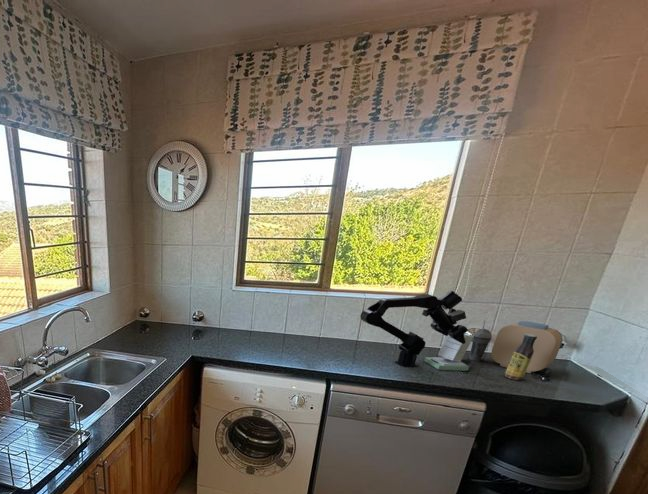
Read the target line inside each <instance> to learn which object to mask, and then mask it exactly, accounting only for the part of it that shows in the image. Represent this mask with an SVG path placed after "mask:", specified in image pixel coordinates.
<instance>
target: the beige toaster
mask: <svg viewBox="0 0 648 494" xmlns="http://www.w3.org/2000/svg"><path fill="white" fill-rule="evenodd" d="M525 334H532V335H536V336H537V338H536V340H535V342H534V344H533V350H534V353H533V355H532V358H531V361H530V363H529V366H528V368H527V370H526V372H525V373H527V374H532V373H534V372H538V371H539V372H540V371H542V370H544V369H547V368H548V367H549V366H551V365H552V364H553V363H554V362H555V360H556V359H557V356H558V353H559V351H560V348H561V346H562V343H563V334H562V333H561V331H559V330H557V329H555V328H552V327H550V325H548V324H544V323H539V322H532V321H527V320H526V321H524V320H521V321H518V322H516V323H512V324H509V325H505V326H503V327H502V328H501V329H500V330H499V331H498V332H497V334H496V336H495V339H494V342H493V345H492V348H491V354H490V355H491V358H492V360H493V361H494V362H495V363H497V364H499V367H503V368H506V369H507V367H508V365H509V362H510V360H511V358H512V355H513V353H514V351H515V350H516V349H517V348H518V347H519V346H520V344H521V343H522V341H523V339H524V335H525Z"/></svg>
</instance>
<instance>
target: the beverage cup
mask: <svg viewBox="0 0 648 494" xmlns="http://www.w3.org/2000/svg"><path fill="white" fill-rule="evenodd" d="M485 325H486V319H484V320H483V324H482V328H479V329H477V330H476V331H475V332H474V333H473V335H472V337H474V338H473V339H472V341H471V346H470V347H471V348H470V353H469V360H471V361H476V362H480V361H481V360H482V358H483V356H484V354H485V353H486V349H487V348H488V345H489V343H490V342H491V340H492V337H493V336H492V335H493V334H492V332H491V331H490V330H489V329H486V328H485Z"/></svg>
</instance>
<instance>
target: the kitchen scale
mask: <svg viewBox="0 0 648 494" xmlns="http://www.w3.org/2000/svg"><path fill="white" fill-rule="evenodd" d="M424 362H425V363H426V364H428V365H430V366H432V367H433V368H435V369H436V370H440V371H462V372H463V371H465V372H466V371H467V372H468V371H469V370H470V366H469V365H467V364H466V363H464V362H463V361H460V362H458V361H453V360H450V359H447V358H444V357H441V356H432V357H430V356H429V357H425V358H424Z"/></svg>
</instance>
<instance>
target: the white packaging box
mask: <svg viewBox="0 0 648 494" xmlns="http://www.w3.org/2000/svg"><path fill="white" fill-rule="evenodd" d="M464 337H465V342H466V343H465V344H462V343H460V342H458V341H456V340H455V339H453V338H451V337H450V336H449V335H448V336H446V338H445V340H444V342H443V343H442V345H441V347H440V349H439V351H438V353H437V355H438V357H441V358H447V359H450V360H453V361H458V362H462V360H463V358H464V356H465V354H466V352H467V351H468V348H469V347H470V345H471V344H472V342H473V338H474V337H473V335H472V336H471V335H469V334H466V333H464Z"/></svg>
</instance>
